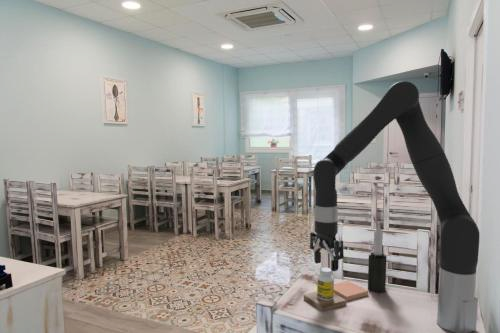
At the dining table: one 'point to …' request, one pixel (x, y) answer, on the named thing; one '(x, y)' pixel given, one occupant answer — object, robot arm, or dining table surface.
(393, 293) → the dining table surface
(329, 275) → the supplement bottle
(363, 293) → the terracotta tile
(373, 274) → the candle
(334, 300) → the walnut mat
